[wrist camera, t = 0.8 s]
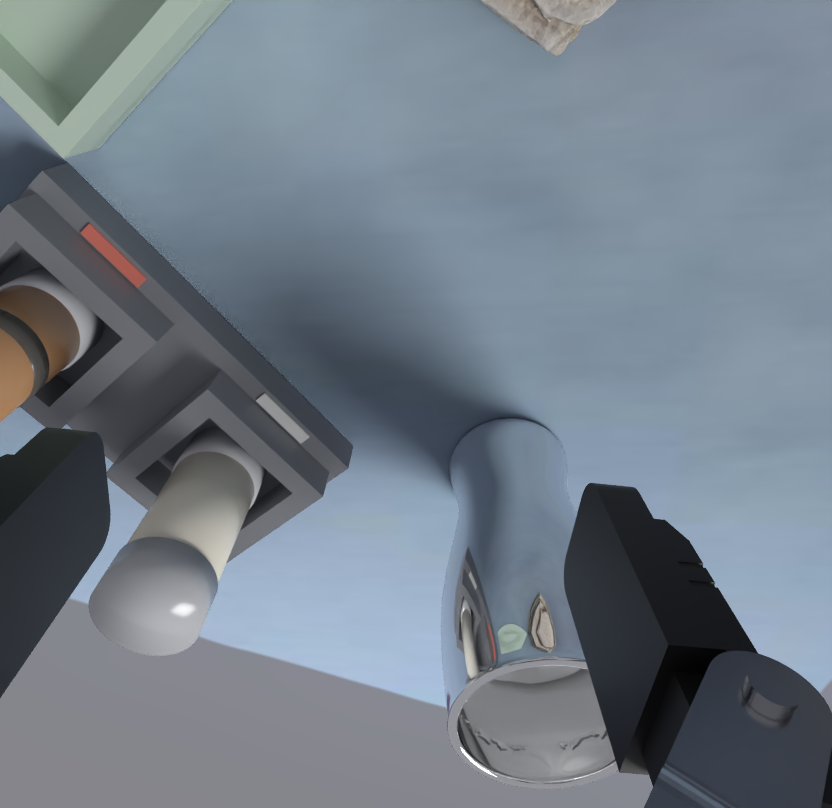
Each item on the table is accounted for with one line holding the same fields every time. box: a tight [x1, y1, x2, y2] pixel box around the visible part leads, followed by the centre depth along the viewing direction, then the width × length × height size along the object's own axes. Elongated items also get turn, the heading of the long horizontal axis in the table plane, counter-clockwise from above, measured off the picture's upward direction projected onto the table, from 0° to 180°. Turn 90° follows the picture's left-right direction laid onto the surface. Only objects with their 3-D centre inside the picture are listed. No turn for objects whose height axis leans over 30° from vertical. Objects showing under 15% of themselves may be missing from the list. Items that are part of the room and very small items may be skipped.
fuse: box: [89, 427, 267, 656], centre depth 28 cm, size 4×4×10 cm
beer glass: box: [441, 418, 618, 789], centre depth 27 cm, size 7×7×15 cm
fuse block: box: [0, 163, 353, 562], centre depth 30 cm, size 9×18×4 cm, turn 40°
